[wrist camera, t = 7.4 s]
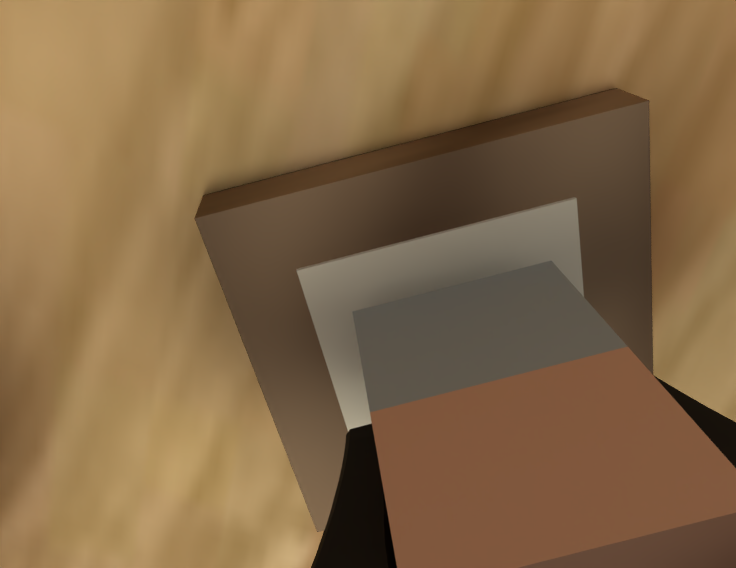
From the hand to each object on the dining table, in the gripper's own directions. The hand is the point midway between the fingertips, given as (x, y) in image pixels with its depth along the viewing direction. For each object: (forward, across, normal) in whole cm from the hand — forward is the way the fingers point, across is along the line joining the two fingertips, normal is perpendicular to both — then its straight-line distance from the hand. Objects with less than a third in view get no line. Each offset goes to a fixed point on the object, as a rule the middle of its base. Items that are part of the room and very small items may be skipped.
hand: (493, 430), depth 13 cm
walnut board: (+5, 0, 0) cm, 5 cm away
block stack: (+2, 0, 0) cm, 2 cm away
